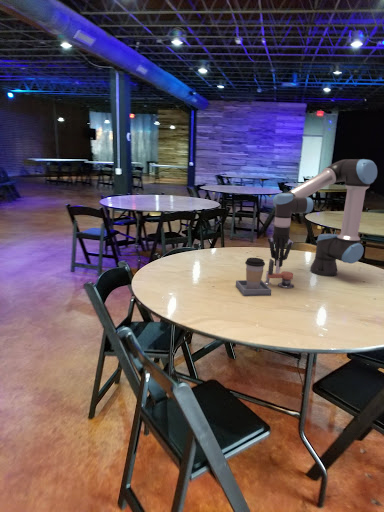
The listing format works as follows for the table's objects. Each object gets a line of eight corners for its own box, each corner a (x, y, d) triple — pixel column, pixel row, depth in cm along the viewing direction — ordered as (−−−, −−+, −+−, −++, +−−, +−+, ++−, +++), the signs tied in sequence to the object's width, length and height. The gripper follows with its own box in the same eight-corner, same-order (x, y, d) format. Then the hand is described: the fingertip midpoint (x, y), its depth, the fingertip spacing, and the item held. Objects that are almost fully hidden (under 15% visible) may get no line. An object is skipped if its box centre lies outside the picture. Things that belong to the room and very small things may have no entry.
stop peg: (269, 282, 182) (270, 270, 180) (272, 284, 178) (273, 272, 176) (262, 282, 181) (263, 270, 179) (264, 284, 177) (266, 272, 176)
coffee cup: (262, 293, 163) (265, 263, 159) (242, 291, 165) (245, 261, 161) (262, 286, 172) (265, 258, 168) (243, 284, 174) (246, 256, 170)
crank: (290, 275, 180) (292, 258, 177) (294, 279, 174) (296, 261, 171) (265, 275, 178) (267, 258, 176) (269, 279, 172) (271, 261, 170)
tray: (261, 285, 176) (261, 280, 175) (270, 295, 163) (271, 289, 163) (235, 285, 174) (236, 280, 173) (243, 296, 161) (244, 290, 160)
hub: (289, 282, 182) (290, 275, 181) (296, 288, 174) (297, 280, 173) (275, 283, 181) (276, 275, 180) (281, 288, 173) (282, 281, 172)
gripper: (297, 226, 164) (292, 273, 170) (273, 223, 171) (269, 268, 177) (291, 228, 158) (286, 277, 164) (266, 225, 166) (262, 271, 172)
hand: (277, 272), depth 171 cm, fingers closed
